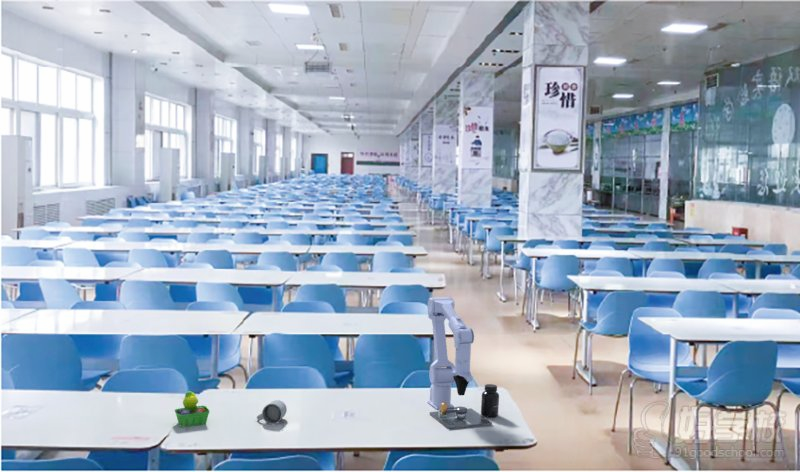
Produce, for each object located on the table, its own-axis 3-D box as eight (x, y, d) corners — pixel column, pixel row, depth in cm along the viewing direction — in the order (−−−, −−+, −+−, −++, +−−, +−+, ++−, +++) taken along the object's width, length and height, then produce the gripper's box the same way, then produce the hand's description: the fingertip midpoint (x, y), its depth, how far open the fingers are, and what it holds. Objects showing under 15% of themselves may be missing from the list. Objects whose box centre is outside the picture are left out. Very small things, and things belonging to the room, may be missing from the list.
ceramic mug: (287, 418, 295) (287, 398, 294) (281, 425, 287) (281, 404, 286) (260, 416, 296) (260, 396, 296) (253, 423, 288) (253, 403, 288)
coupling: (463, 409, 302) (464, 399, 302) (468, 413, 298) (469, 403, 297) (438, 412, 299) (438, 401, 298) (443, 415, 294) (443, 405, 294)
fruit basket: (178, 429, 279) (178, 398, 278) (173, 421, 287) (173, 391, 286) (210, 424, 285) (210, 394, 284) (204, 417, 293) (204, 388, 291)
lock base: (429, 414, 304) (430, 404, 304) (471, 410, 311) (471, 401, 311) (448, 429, 288) (449, 419, 287) (492, 425, 294) (492, 415, 294)
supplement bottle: (497, 419, 302) (498, 388, 301) (479, 417, 303) (481, 387, 302) (498, 413, 309) (500, 384, 307) (481, 411, 310) (482, 382, 309)
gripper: (445, 355, 301) (444, 390, 302) (460, 365, 288) (459, 401, 289) (462, 354, 304) (460, 388, 305) (478, 364, 290) (476, 399, 291)
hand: (461, 394), depth 297 cm, fingers closed
